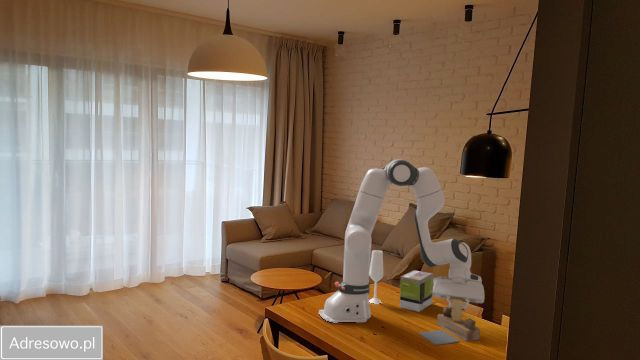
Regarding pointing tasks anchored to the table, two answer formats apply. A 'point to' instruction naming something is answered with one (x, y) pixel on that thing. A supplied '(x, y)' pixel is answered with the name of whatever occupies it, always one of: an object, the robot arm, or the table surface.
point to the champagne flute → (376, 272)
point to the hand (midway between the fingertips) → (457, 309)
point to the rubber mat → (439, 337)
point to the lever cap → (457, 310)
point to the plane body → (458, 326)
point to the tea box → (416, 290)
